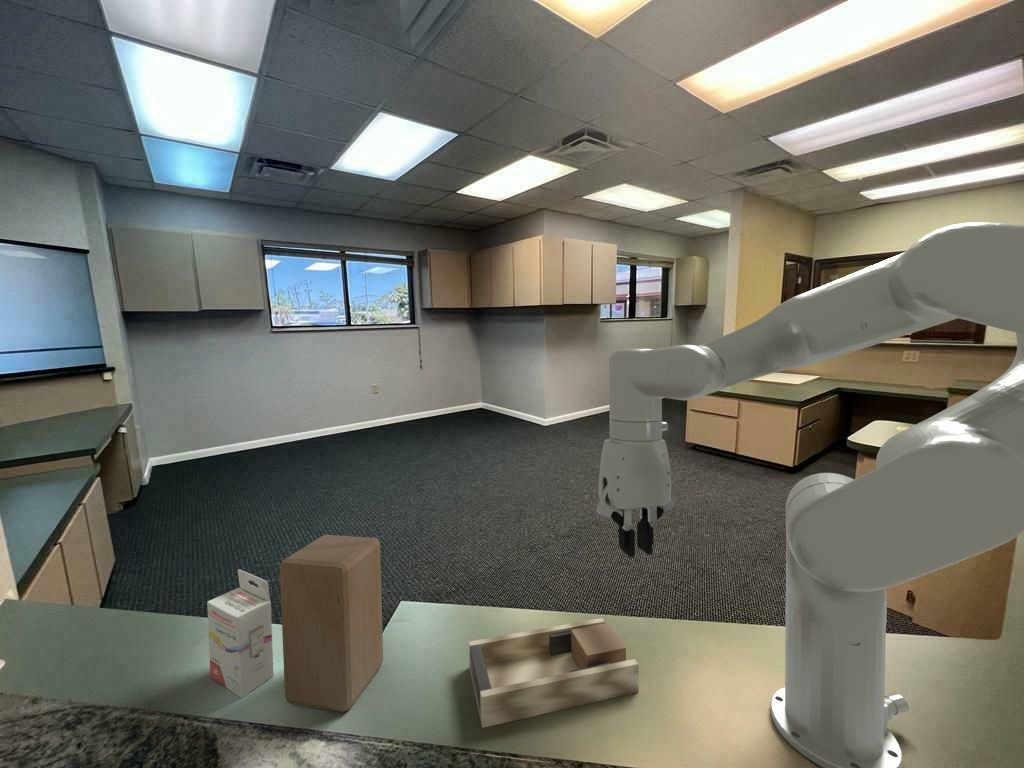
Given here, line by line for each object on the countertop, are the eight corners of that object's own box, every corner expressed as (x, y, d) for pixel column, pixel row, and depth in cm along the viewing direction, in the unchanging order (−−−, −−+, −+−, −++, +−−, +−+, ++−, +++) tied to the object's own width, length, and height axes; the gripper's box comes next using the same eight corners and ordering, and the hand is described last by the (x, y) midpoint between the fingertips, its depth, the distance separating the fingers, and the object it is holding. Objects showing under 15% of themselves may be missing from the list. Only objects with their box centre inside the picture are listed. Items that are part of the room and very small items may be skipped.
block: (348, 716, 54) (343, 566, 53) (281, 705, 56) (275, 560, 55) (386, 663, 64) (382, 535, 63) (328, 655, 66) (324, 531, 65)
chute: (602, 641, 68) (602, 617, 68) (638, 691, 57) (638, 663, 57) (469, 667, 63) (468, 641, 63) (482, 728, 52) (481, 697, 52)
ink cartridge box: (207, 678, 61) (203, 581, 61) (242, 658, 66) (239, 567, 65) (240, 700, 57) (236, 595, 57) (275, 676, 62) (271, 579, 61)
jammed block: (606, 647, 66) (606, 623, 65) (626, 674, 60) (625, 647, 60) (571, 654, 64) (571, 629, 64) (587, 683, 58) (587, 655, 58)
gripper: (666, 425, 68) (667, 536, 68) (575, 430, 64) (577, 548, 65) (698, 431, 61) (698, 555, 61) (597, 438, 57) (598, 570, 57)
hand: (636, 550), depth 63 cm, fingers closed
